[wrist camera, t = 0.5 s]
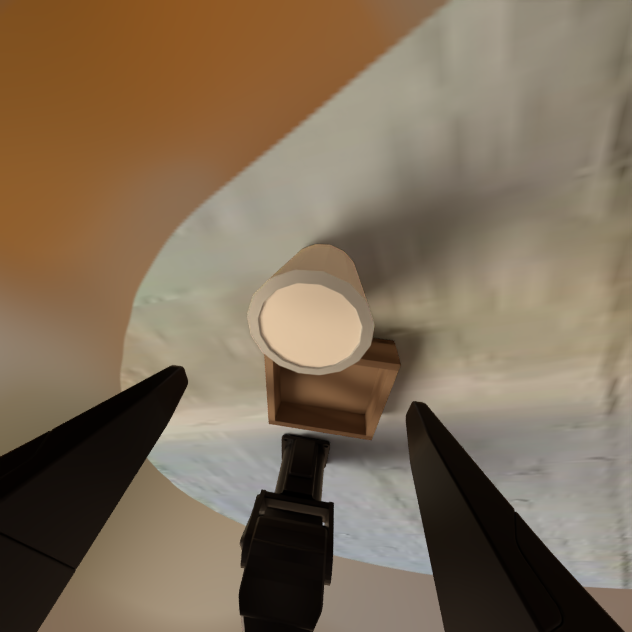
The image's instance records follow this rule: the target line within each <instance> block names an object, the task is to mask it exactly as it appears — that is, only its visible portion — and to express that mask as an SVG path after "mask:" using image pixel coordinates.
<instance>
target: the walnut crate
mask: <svg viewBox="0 0 632 632" xmlns="http://www.w3.org/2000/svg"><path fill="white" fill-rule="evenodd" d="M264 356H265V372H266V387H267V403H268V418H269V424H274V425H280V426H286V427H292V428H298V429H304V430H311V431H317V432H323V433H329V434H335V435H342V436H348V437H354V438H360V439H366V440H372V437H373V435H374V432H375V430H376V427H377V425H378V422H379V420H380V417H381V414H382V412H383V409H384V407H385V404H386V402H387V399H388V396H389V394H390V391H391V389H392V386H393V384H394V381H395V378H396V376H397V373H398V371H399V368H400V366H401V363H400V360H399V356H398V353H397V349H396V345H395V342H394V341H392V340H384V339H377V338H372V342H371V346H370V347H369V348H368V350H367V351H366V352H365V354H364V355H363V356H362V357H361V359H360V360H359V361H358V362H356V363H355V364H353V365H351V366H349V367H347V368H346V369H344V370H342V371H340V372H334V373H329V374H324V375H313V374H303V373H297V372H295V371H292V370H290V369H287V368H285V367H282V366H280V365H278V364H277V363H275V362H274V361H273V360H271V359H270V358H269V357H268V356H266V355H265V354H264Z"/></svg>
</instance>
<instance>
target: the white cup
mask: <svg viewBox="0 0 632 632" xmlns="http://www.w3.org/2000/svg"><path fill="white" fill-rule="evenodd" d="M247 317H248V322H249V328H250V334H251V336H252V337H253V339H254V341H255V342H256V344H257V345H258V347H259V348H260V350H261V351H262V352H263V353H264V354H265V355H266V356H268V357H269V358H270V359H271V360H273V361H274V362H275V363H277V364H278V365H280V366H282V367H285V368H287V369H290V370H292V371H295V372H297V373H303V374H313V375H324V374H329V373H334V372H340V371H342V370H344V369H346V368H347V367H349V366H351V365H353V364H355V363H356V362H358V361H359V360H360V359H361V357H362V356H363V355H364V354H365V352H366V351H367V350H368V348H369V347H370V346H371V342H372V337H373V331H374V326H375V324H374V321H373V318H372V314H371V311H370V308H369V305H368V302H367V299H366V296H365V293H364V290H363V288H362V285H361V282H360V279H359V276H358V273H357V270H356V268H355V265H354V262H353V261H352V260H351V259H350V258H349V256H348V255H347V254H346V253H345V252H344V251H342V250H340V249H338V248H336V247H334V246H332V245H324V244H314V245H312V246H309V247H306V248H304V249H301V250H300V251H299V252H298V253H297V254H296V255H295V256H294V257H293V258H292V259H290V260H289V261H288V262H287V263H286V264H285V265H284V266H283V267H282V268H281V269H279V270H278V271H277V272H276V273H275V274H274V275H273V276H272V277H271V278H270V279H269V280H268V281H267V282H266V283H265V284H264V285H263V286H262V287H261V288H260V289H259V290H258V291H257V292H256V293H255V294H254V295H253V297H252V300H251V304H250V307H249V310H248V314H247Z"/></svg>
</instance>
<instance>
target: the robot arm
mask: <svg viewBox="0 0 632 632" xmlns="http://www.w3.org/2000/svg"><path fill="white" fill-rule="evenodd" d="M187 385H188V379H187V376H186V373H185V370H184V368H183V367H182V366H176V365H172V366H169V367H167V368H166V369H164V370H162V371H160V372H158V373H156V374H154V375H152V376H151V377H149V378H147V379H145V380H143V381H141V382H139V383H138V384H136V385H134V386H132V387H130V388H128V389H126V390H125V391H123V392H121V393H119V394H117V395H115V396H113V397H112V398H110V399H108V400H106V401H104V402H102V403H100V404H98V405H97V406H95V407H93V408H91V409H89V410H87V411H86V412H84V413H82V414H80V415H78V416H76V417H74V418H73V419H70V420H69V421H67V422H65V423H63V424H61V425H60V426H57V427H56V428H54V429H52V431H48V432H46V433H45V434H42V435H41V436H39V437H37V438H35V439H33V440H31V441H29V442H27V443H25V444H24V445H22V446H20V447H18V448H16V449H14V450H12V451H10V452H8V453H6V454H4V455H2V456H0V632H37V631H38V629H39V628H40V626H41V625H42V623H43V622H44V620H45V619H46V617H47V615H48V614H49V612H50V610H51V609H52V607H53V606H54V604H55V603H56V601H57V599H58V597H59V596H60V595H61V593H62V592H63V590H64V588H65V587H66V585H67V583H68V582H69V580H70V579H71V577H72V576H73V574H74V573H75V571H76V568H77V567H78V566H79V564H80V563H81V561H82V559H83V558H84V556H85V555H86V553H87V552H88V550H89V548H90V547H91V545H92V544H93V542H94V540H95V539H96V537H97V536H98V534H99V532H100V531H101V529H102V528H103V526H104V525H105V523H106V521H107V520H108V518H109V517H110V515H111V513H112V512H113V510H114V509H115V507H116V505H117V504H118V502H119V501H120V499H121V497H122V496H123V494H124V493H125V491H126V489H127V488H128V486H129V485H130V483H131V482H132V480H133V478H134V476H135V475H136V474H137V472H138V470H139V469H140V467H141V466H142V464H143V463H144V461H145V459H146V458H147V456H148V455H149V453H150V452H151V450H152V448H153V447H154V445H155V444H156V442H157V440H158V439H159V437H160V436H161V434H162V432H163V431H164V429H165V428H166V426H167V424H168V423H169V421H170V419H171V417H172V415H173V413H174V411H175V409H176V407H177V405H178V403H179V401H180V399H181V397H182V395H183V393H184V391H185V389H186V387H187ZM406 427H407V437H408V447H409V457H410V464H411V470H412V475H413V480H414V485H415V489H416V494H417V499H418V504H419V509H420V514H421V518H422V523H423V528H424V533H425V538H426V543H427V548H428V552H429V557H430V562H431V567H432V572H433V577H434V581H435V586H436V591H437V596H438V601H439V606H440V610H441V615H442V620H443V625H444V630H445V632H625V631H624V630H622V628H621V627H620V626H619V625H618V624H617V623H616V622H615V621H614V620H613V619H612V618H611V616H610V615H608V613H607V612H606V611H605V610H604V609H603V608H602V607H601V606H600V605H599V604H598V603H597V601H596V600H595V599H594V598H593V597H592V596H591V595H590V594H589V593H588V592H587V591H586V590H585V589H584V588H583V586H582V585H581V584H580V583H579V582H578V581H577V580H576V579H575V578H574V577H573V576H572V574H571V573H570V572H569V571H568V570H567V569H566V568H565V567H564V566H563V565H562V564H561V562H560V561H559V560H558V559H557V558H556V557H555V556H554V555H553V554H552V553H551V551H550V550H549V549H548V548H547V547H546V546H545V544H544V543H543V542H542V541H541V540H540V539H539V537H538V536H537V535H536V534H535V533H534V532H533V531H532V529H531V528H530V527H529V526H528V525H527V524H526V522H525V521H524V520H523V519H522V518H521V516H520V515H519V514H518V513H517V512H515V511H514V508H513V507H512V506H511V505H510V503H509V502H508V501H507V500H506V499H505V497H504V496H503V495H502V494H501V493H500V492H499V490H498V489H497V488H496V487H495V486H494V484H493V483H492V482H491V481H490V480H489V478H488V477H487V476H486V475H485V474H484V473H483V471H482V470H481V469H480V468H479V467H478V465H477V464H476V463H475V462H474V461H473V459H472V458H471V457H470V456H469V455H468V453H467V452H466V451H465V450H464V449H463V448H462V446H461V445H460V444H459V443H458V442H457V440H456V439H455V438H454V437H453V436H452V434H451V433H450V432H449V431H448V430H447V428H446V427H445V426H444V425H443V424H442V423H441V421H440V420H439V419H438V418H437V417H436V415H435V414H434V413H433V412H432V411H431V409H430V408H429V407H428V406H427V405H426V404H425V403H423V402H417V401H413V402H412V403H411V405H410V408H409V410H408V412H407V414H406ZM329 449H330V443H329V442H327V441H321V440H314V439H308V438H302V437H296V436H290V435H283V436H282V463H281V467H280V472H279V476H278V480H277V485H276V489H275V493H273V492H268V491H266V490H261V493H260V494H259V495H257V497H256V500H255V504H254V507H253V510H252V513H251V516H250V518H249V521H248V523H247V525H246V528H245V530H244V532H243V535H242V537H241V540H240V546H241V549H242V554H241V568H245V569H244V573H243V577H242V581H241V585H240V589H239V610H240V615H241V622H242V631H243V632H313V631H314V628H315V626H316V623H317V622H318V619H319V617H320V615H321V612H322V607H323V594H324V585H330V583H331V576H332V564H333V529H334V502H323V501H321V497H322V485H323V473H324V468H325V467H326V463H327V458H328V454H329ZM323 522H324V523H325V525H324V526H323Z"/></svg>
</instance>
